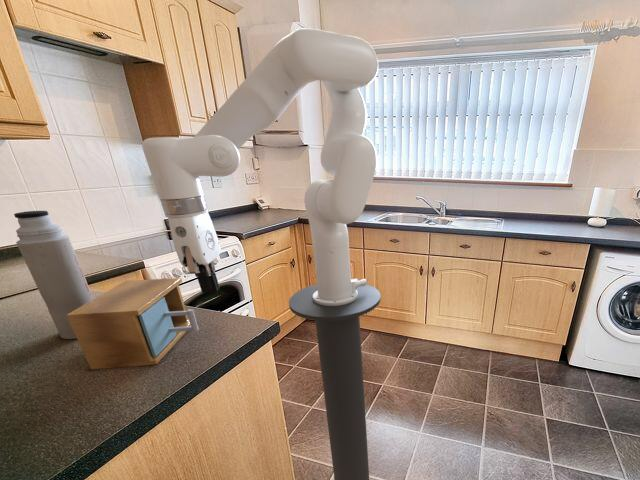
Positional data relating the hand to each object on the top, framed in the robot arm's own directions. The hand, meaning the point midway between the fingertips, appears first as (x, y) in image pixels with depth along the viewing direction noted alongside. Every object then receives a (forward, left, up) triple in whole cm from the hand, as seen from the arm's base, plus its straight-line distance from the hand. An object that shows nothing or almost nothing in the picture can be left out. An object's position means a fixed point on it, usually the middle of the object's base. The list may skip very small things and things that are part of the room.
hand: (211, 291), depth 74 cm
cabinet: (+14, -6, -11) cm, 19 cm away
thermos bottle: (+26, -23, -11) cm, 36 cm away
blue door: (+9, +2, -10) cm, 13 cm away
